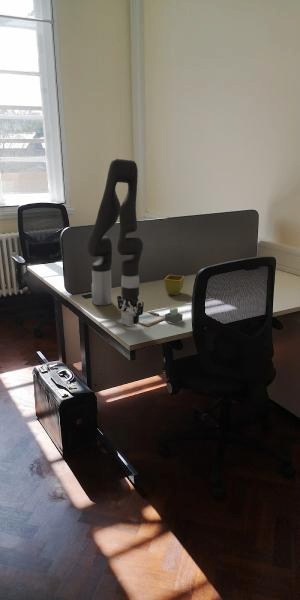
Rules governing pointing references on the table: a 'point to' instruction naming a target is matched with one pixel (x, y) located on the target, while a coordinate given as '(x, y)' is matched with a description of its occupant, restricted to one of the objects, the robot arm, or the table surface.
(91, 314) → the table surface
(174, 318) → the button housing
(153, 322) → the picture frame
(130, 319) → the small box
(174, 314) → the button
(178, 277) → the flower pot
